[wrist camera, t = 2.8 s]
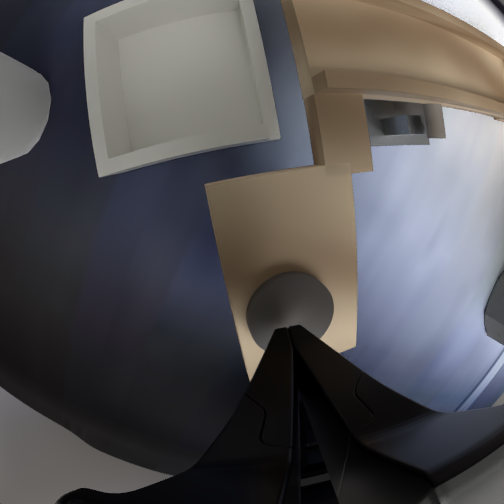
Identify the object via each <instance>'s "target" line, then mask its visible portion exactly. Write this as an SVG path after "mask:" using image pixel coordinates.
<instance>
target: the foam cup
mask: <svg viewBox="0 0 504 504" xmlns="http://www.w3.org/2000/svg"><path fill="white" fill-rule="evenodd" d="M50 105H51V95H50V89H49V83H48V82H47V81H46V80H45V78H44V77H43V76H42V75H41V74H40V73H37V72H36V71H35V70H33V69H32V68H30V67H28V66H26V65H24V64H22V63H21V62H19V61H17V60H15V59H13V58H11V57H9V56H7V55H5V54H3V53H1V52H0V164H1V163H4V162H7V161H10V160H12V159H14V158H17V157H20V156H22V155H25V154H27V153H28V152H29V151H30V150H31V149H32V148H33V147H34V145H35V144H36V143H37V142H38V141H39V140H40V137H41V135H42V133H43V130H44V128H45V126H46V124H47V122H48V117H49V111H50Z"/></svg>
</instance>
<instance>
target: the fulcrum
mask: <svg viewBox="0 0 504 504" xmlns="http://www.w3.org/2000/svg"><path fill="white" fill-rule="evenodd" d="M363 101H364V107H365V113H366V119H367V125H368V132H369V139H370V146H388V145H430V144H429V138H427V131H426V124H425V117H424V110H423V104H421V103H413V102H403V101H390V100H374V99H363Z"/></svg>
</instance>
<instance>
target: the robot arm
mask: <svg viewBox="0 0 504 504" xmlns="http://www.w3.org/2000/svg"><path fill="white" fill-rule="evenodd" d="M298 389H299V392H300V395H301V398H302V401H303V404H301V405H299V396H298ZM55 504H504V405H499V406H494V407H488V408H482V409H475V410H468V411H459V412H440V411H436V410H433V409H430V408H428V407H426V406H424V405H422V404H420V403H418V402H416V401H414V400H412V399H410V398H408V397H406V396H404V395H402V394H400V393H398V392H396V391H395V390H393V389H391V388H389V387H387V386H386V385H384V384H382V383H381V382H379V381H378V380H376V379H375V378H373V377H372V376H370V375H369V374H367V373H366V372H365V371H362V369H360V368H359V367H357V366H356V365H355V364H353V363H352V362H351V361H349V360H348V359H346V358H345V357H344V356H342V355H341V354H340V353H338V352H337V351H335V350H334V349H333V348H331V347H330V346H329V345H327V344H326V343H325V342H323V341H322V340H320V339H319V338H318V337H316V336H315V335H314V334H312V333H311V332H310V331H308V330H307V329H306V328H304V327H303V326H302V325H294V326H289V327H288V328H287V327H283V328H277V329H275V330H274V332H273V334H272V336H271V339H270V341H269V343H268V345H267V347H266V349H265V352H264V354H263V356H262V358H261V360H260V362H259V364H258V366H257V368H256V371H255V373H254V375H253V377H252V379H251V381H250V383H249V385H248V387H247V389H246V391H245V393H244V395H243V397H242V399H241V401H240V403H239V405H238V407H237V408H236V410H235V412H234V414H233V415H232V417H231V418H230V420H229V421H228V423H227V424H226V426H225V427H224V429H223V430H222V431H221V433H220V434H219V435H218V437H217V438H216V439H215V441H214V442H213V443H212V445H211V446H210V447H209V448H208V450H207V451H206V452H205V454H204V455H203V456H202V457H201V459H200V460H199V461H198V462H197V463H196V464H195V465H194V466H192V467H191V468H190V469H188V470H187V471H185V472H182V473H180V474H178V475H175V476H173V477H170V478H168V479H165V480H163V481H160V482H157V483H155V484H152V485H149V486H147V487H144V488H141V489H138V490H135V491H131V492H126V493H104V492H100V491H96V490H92V489H88V488H80V489H77V490H74V491H71V492H69V493H67V494H65V495H63V496H61V497H60V498H59V499H58V500H57V501H56V503H55Z"/></svg>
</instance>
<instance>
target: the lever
mask: <svg viewBox="0 0 504 504" xmlns="http://www.w3.org/2000/svg"><path fill="white" fill-rule="evenodd" d="M280 2H281V5H282V9H283V13H284V16H285V20H286V24H287V28H288V32H289V36H290V40H291V45H292V49H293V53H294V58H295V62H296V67H297V72H298V77H299V81H300V87H301V92H302V97H303V99H304V105H305V110H306V116H307V122H308V128H309V134H310V140H311V146H312V153H313V160H314V165H310V166H303V167H296V168H289V169H283V170H276V171H270V172H264V173H259V174H253V175H247V176H242V177H237V178H231V179H226V180H221V181H216V182H212V183H207V184H204V185H205V190H206V195H207V200H208V205H209V210H210V215H211V220H212V225H213V230H214V234H215V239H216V244H217V249H218V253H219V258H220V262H221V267H222V271H223V276H224V280H225V285H226V289H227V293H228V298H229V302H230V306H231V311H232V315H233V319H234V323H235V327H236V331H237V336H238V340H239V344H240V348H241V352H242V356H243V360H244V364H245V368H246V371H247V374H248V377H249V380H250V381H251V379H252V377H253V375H254V373H255V371H256V368H257V366H258V364H259V362H260V360H261V358H262V356H263V354H264V352H265V349H266V347H267V345H268V343H269V341H270V339H271V336H272V334H273V332H274V330H275V329H277V328H283V327H287V328H288V327H289V326H294V325H302V326H303V327H304V328H306V329H307V330H308V331H310V332H311V333H312V334H314V335H315V336H316V337H318V338H319V339H320V340H322V341H323V342H325V343H326V344H327V345H329V346H330V347H331V348H333V349H334V350H335V351H337V352H338V353H340V352H343V351H346V350H348V349H351V348H353V347H356V332H357V244H356V225H355V210H354V197H353V186H352V176H351V174H352V173H360V172H368V171H373V164H372V155H371V147H370V139H369V132H368V125H367V119H366V113H365V107H364V101H363V99H374V100H390V101H403V102H413V103H421V104H423V110H424V117H425V124H426V131H427V138H446V135H445V127H444V119H443V113H442V107H441V106H443V107H449V108H455V109H460V110H465V111H470V112H475V113H480V114H484V115H488V116H492V117H494V119H495V120H499V121H503V122H504V47H503V46H502V45H501V44H499V43H498V42H496V41H495V40H493V39H492V38H490V37H489V36H487V35H486V34H484V33H483V32H481V31H479V30H478V29H476V28H474V27H473V26H471V25H469V24H467V23H466V22H464V21H462V20H460V19H458V18H457V17H455V16H453V15H451V14H449V13H447V12H445V11H443V10H441V9H439V8H437V7H434V6H432V5H430V4H428V3H426V2H423V1H421V0H280Z"/></svg>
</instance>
